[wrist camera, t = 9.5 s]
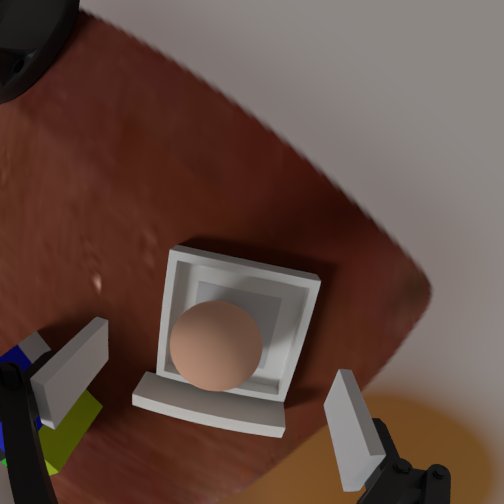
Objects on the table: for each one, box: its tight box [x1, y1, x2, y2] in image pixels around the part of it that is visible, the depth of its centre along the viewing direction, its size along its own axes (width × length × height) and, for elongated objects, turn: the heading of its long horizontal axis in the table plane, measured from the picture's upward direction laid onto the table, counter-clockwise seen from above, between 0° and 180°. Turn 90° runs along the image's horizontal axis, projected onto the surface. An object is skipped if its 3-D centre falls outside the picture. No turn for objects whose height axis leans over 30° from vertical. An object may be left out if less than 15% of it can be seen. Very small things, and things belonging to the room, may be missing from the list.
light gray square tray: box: [156, 245, 321, 402], centre depth 22 cm, size 10×10×2 cm
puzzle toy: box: [0, 331, 103, 476], centre depth 21 cm, size 10×10×10 cm
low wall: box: [132, 371, 285, 438], centre depth 23 cm, size 1×12×4 cm, turn 78°
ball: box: [170, 300, 262, 391], centre depth 20 cm, size 6×6×6 cm
